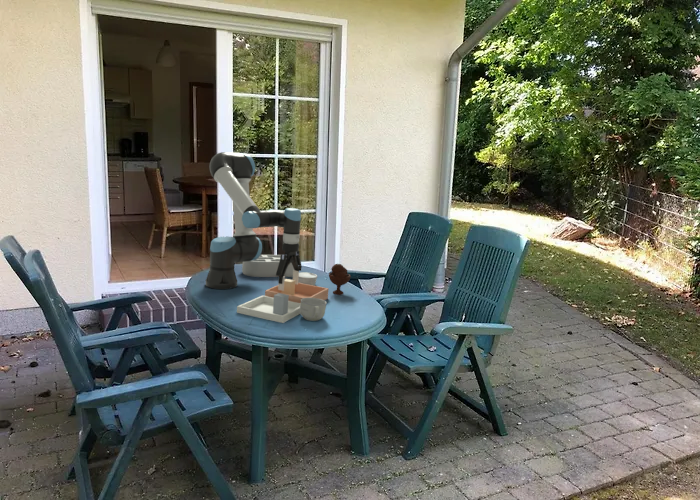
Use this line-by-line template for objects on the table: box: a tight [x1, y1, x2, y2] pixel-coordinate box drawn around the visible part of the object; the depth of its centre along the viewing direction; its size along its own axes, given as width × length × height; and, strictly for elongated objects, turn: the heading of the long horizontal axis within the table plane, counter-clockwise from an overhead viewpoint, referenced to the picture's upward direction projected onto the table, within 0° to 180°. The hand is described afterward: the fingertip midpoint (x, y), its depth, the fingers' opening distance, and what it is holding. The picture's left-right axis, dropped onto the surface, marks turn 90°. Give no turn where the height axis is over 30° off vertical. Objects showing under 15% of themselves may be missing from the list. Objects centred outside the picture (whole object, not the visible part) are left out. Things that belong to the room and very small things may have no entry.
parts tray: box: [236, 295, 301, 324], centre depth 230 cm, size 22×20×3 cm
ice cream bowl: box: [328, 263, 352, 296], centre depth 266 cm, size 11×11×15 cm
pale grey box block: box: [273, 293, 289, 315], centre depth 228 cm, size 5×4×8 cm
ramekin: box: [298, 271, 318, 286], centre depth 278 cm, size 11×11×5 cm
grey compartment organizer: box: [241, 254, 294, 278], centre depth 294 cm, size 17×28×9 cm, turn 109°
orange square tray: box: [264, 283, 330, 303], centre depth 250 cm, size 22×22×5 cm
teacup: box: [299, 298, 328, 322], centre depth 224 cm, size 14×11×8 cm
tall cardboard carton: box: [281, 278, 295, 296], centre depth 252 cm, size 5×4×8 cm
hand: (288, 287), depth 251 cm, fingers open, 13 cm apart
